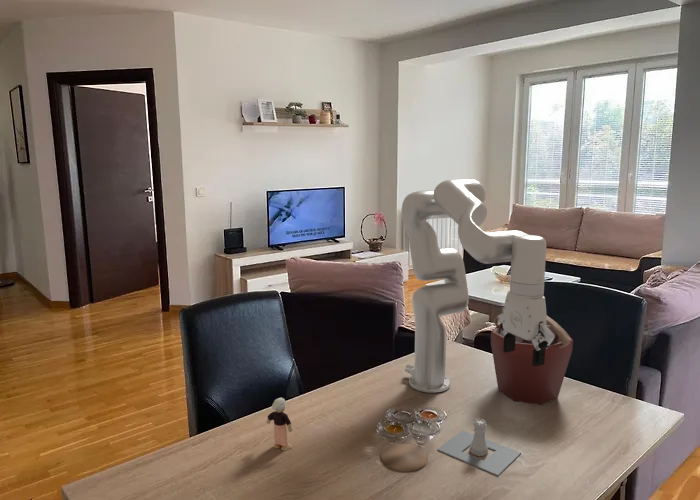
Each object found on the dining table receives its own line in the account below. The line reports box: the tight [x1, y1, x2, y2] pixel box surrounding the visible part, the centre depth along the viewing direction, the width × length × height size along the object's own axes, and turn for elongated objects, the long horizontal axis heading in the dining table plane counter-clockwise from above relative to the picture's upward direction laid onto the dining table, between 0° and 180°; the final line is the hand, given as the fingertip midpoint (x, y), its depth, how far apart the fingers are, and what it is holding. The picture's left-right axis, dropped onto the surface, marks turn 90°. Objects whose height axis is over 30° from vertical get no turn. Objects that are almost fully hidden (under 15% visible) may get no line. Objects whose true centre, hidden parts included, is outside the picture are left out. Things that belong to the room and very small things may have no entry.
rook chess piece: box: [469, 418, 489, 457], centre depth 129 cm, size 4×4×8 cm
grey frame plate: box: [436, 429, 522, 477], centre depth 130 cm, size 16×12×1 cm
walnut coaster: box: [380, 443, 429, 473], centre depth 127 cm, size 11×11×1 cm
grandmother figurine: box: [265, 397, 294, 452], centre depth 132 cm, size 8×4×13 cm, turn 71°
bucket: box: [490, 311, 574, 406], centre depth 160 cm, size 24×22×25 cm
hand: (523, 358), depth 128 cm, fingers open, 9 cm apart
